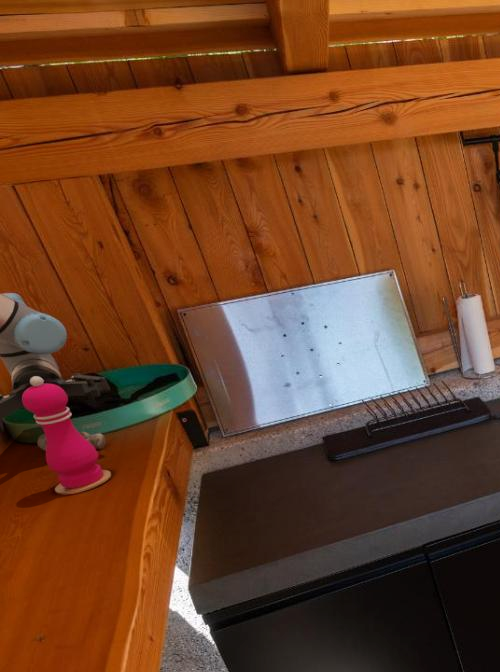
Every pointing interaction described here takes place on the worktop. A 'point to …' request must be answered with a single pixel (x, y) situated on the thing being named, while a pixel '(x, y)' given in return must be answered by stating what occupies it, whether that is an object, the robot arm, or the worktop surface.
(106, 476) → the cork mat
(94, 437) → the stone
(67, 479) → the pepper mill
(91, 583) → the worktop surface
